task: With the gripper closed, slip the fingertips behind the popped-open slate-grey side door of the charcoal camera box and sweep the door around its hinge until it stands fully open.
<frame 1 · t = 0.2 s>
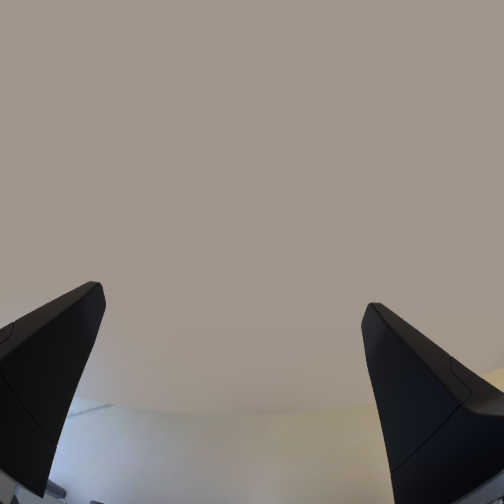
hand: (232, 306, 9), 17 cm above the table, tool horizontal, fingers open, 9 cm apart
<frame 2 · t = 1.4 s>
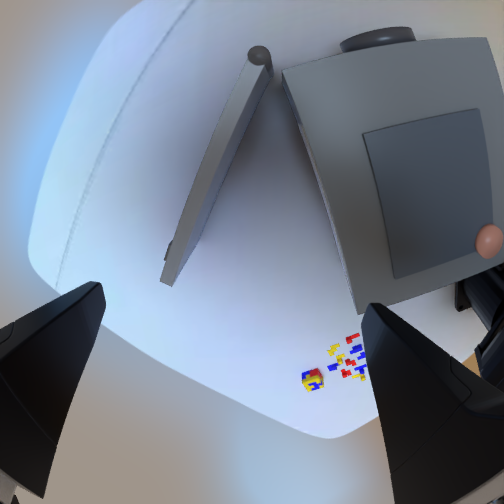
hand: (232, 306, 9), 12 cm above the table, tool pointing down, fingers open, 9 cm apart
building blocks: (340, 359, 27), on the table
camera box: (397, 156, 18), on the table
side door: (214, 163, 17), point 3 cm above the table, hinge at 45.0°
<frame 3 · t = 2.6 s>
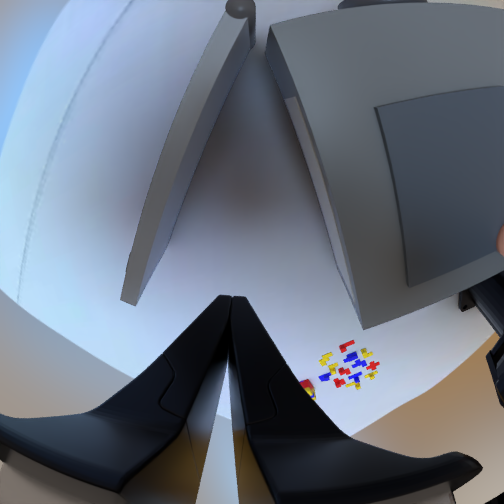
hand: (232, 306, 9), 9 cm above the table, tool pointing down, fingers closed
building blocks: (333, 368, 25), on the table
camera box: (401, 140, 15), on the table
side door: (182, 150, 13), point 3 cm above the table, hinge at 45.0°
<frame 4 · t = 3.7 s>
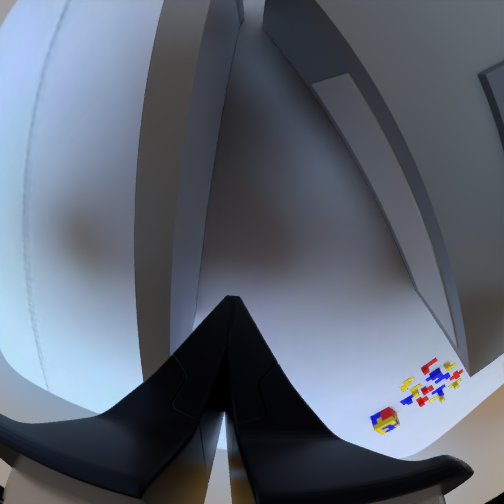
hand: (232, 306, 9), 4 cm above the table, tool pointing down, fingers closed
building blocks: (414, 388, 19), on the table
camera box: (465, 111, 9), on the table
side door: (177, 199, 8), point 3 cm above the table, hinge at 45.7°, touching gripper
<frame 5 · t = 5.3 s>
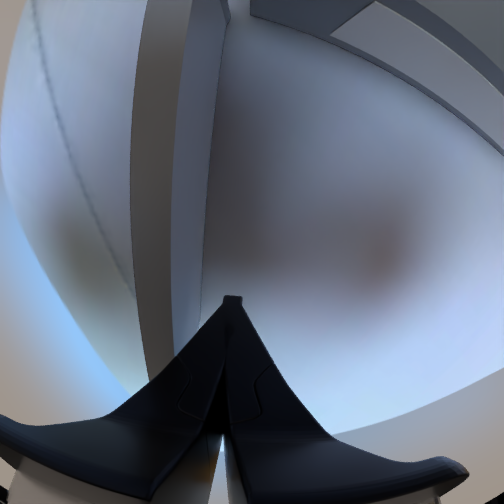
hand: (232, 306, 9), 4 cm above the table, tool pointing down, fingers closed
side door: (174, 201, 8), point 3 cm above the table, hinge at 78.7°, touching gripper
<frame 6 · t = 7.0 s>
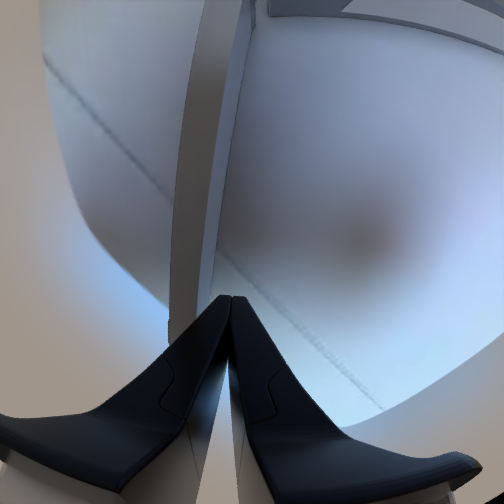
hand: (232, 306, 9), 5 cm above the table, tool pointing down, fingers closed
side door: (202, 179, 10), point 3 cm above the table, hinge at 105.4°
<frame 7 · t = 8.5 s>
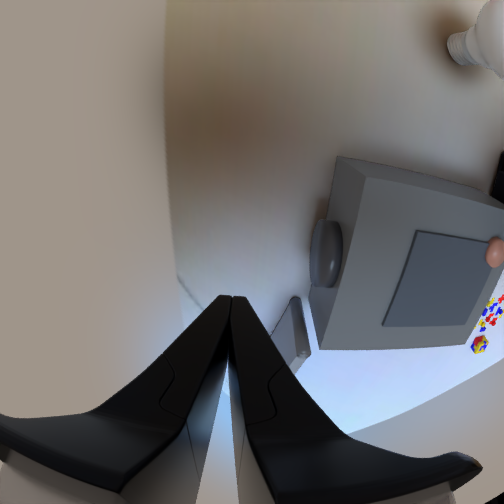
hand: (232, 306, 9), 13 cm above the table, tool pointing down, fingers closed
building blocks: (483, 319, 28), on the table
lightbulb: (454, 50, 15), on the table
camera box: (401, 243, 23), on the table
side door: (265, 373, 25), point 3 cm above the table, hinge at 105.5°
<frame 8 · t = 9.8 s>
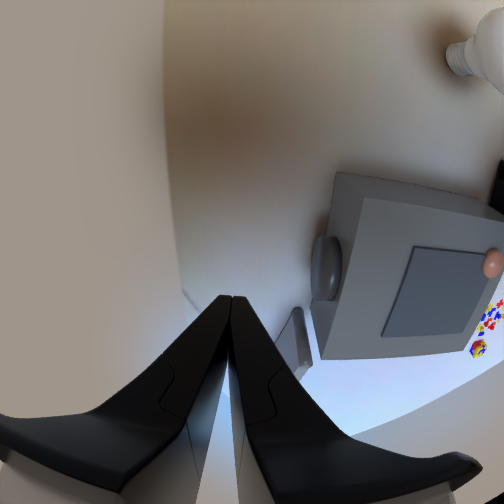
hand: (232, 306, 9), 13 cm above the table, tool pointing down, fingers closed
building blocks: (482, 324, 28), on the table
lightbulb: (452, 60, 15), on the table
camera box: (400, 254, 23), on the table
side door: (269, 381, 26), point 3 cm above the table, hinge at 105.5°
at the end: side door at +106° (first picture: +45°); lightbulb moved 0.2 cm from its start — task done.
